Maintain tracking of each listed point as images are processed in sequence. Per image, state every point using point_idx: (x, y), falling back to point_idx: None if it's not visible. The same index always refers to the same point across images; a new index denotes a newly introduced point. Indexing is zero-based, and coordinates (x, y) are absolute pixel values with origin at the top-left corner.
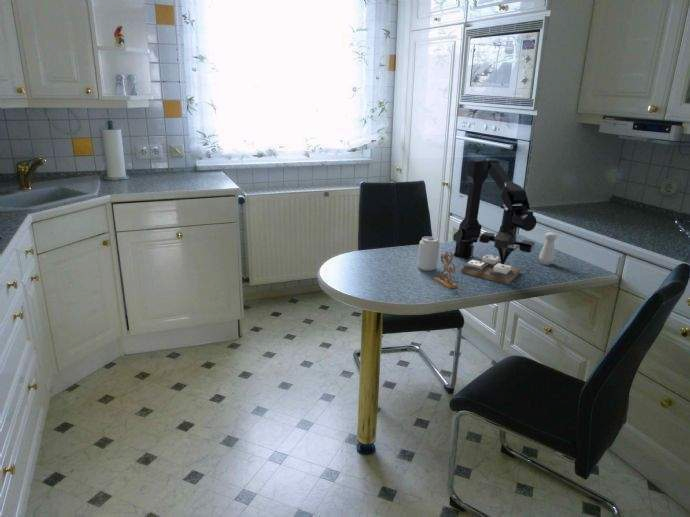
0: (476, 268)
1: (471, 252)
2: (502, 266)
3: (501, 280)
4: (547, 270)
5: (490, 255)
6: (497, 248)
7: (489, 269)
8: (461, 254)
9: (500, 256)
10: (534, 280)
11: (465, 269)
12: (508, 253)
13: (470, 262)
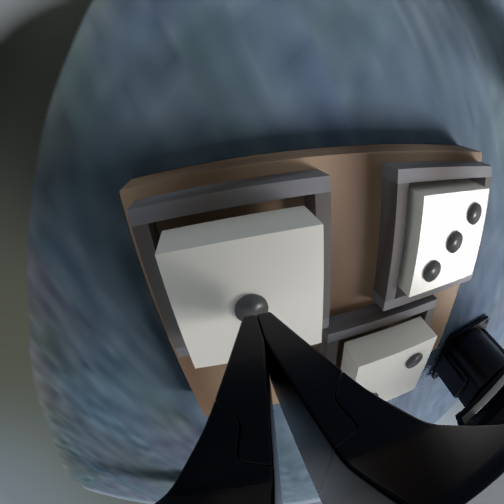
0: (427, 165)
1: (451, 369)
2: (246, 296)
3: (185, 169)
4: (160, 457)
5: (394, 393)
6: (475, 432)
7: (349, 267)
8: (473, 334)
9: (325, 367)
10: (98, 369)
11: (461, 149)
12: (197, 469)
13: (480, 206)
